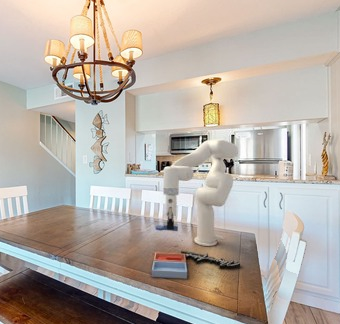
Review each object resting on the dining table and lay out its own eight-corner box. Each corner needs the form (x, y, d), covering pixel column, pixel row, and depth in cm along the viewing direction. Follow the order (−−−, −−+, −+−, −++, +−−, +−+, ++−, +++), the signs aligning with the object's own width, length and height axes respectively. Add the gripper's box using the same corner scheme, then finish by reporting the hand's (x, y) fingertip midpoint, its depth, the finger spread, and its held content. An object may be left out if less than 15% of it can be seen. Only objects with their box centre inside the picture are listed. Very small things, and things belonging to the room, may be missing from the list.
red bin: (184, 259, 100) (184, 253, 100) (185, 267, 92) (185, 261, 92) (155, 257, 101) (155, 252, 101) (153, 266, 93) (153, 260, 93)
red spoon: (181, 259, 98) (181, 255, 98) (181, 264, 94) (181, 259, 94) (158, 258, 99) (158, 254, 99) (157, 263, 95) (157, 258, 95)
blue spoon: (177, 229, 105) (177, 225, 105) (177, 232, 101) (177, 227, 101) (155, 227, 106) (156, 222, 106) (154, 230, 102) (155, 225, 102)
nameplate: (240, 258, 97) (240, 269, 88) (240, 262, 97) (240, 272, 88) (182, 248, 108) (177, 257, 98) (182, 251, 108) (177, 260, 98)
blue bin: (185, 268, 91) (185, 262, 91) (187, 278, 84) (187, 272, 83) (153, 266, 93) (153, 260, 93) (151, 276, 85) (151, 270, 85)
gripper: (178, 194, 95) (177, 234, 95) (178, 189, 111) (178, 224, 111) (162, 193, 96) (161, 233, 96) (164, 189, 111) (164, 223, 112)
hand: (170, 228), depth 103 cm, fingers closed on blue spoon, 1 cm apart
